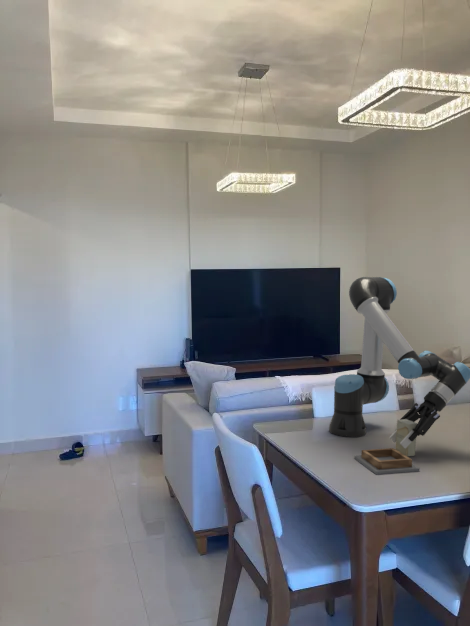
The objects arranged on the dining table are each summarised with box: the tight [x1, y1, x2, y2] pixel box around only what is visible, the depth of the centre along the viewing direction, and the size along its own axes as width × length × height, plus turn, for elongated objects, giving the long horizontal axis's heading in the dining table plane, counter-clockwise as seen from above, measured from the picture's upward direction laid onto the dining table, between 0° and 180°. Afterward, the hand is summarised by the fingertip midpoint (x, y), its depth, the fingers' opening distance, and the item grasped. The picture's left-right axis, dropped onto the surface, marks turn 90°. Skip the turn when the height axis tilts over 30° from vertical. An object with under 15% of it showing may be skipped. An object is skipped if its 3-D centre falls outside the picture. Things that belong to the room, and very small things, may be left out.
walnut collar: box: [360, 447, 413, 469], centre depth 188 cm, size 12×12×2 cm
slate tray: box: [353, 454, 420, 475], centre depth 188 cm, size 16×16×1 cm
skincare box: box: [395, 418, 418, 457], centre depth 199 cm, size 6×4×12 cm
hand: (397, 442), depth 198 cm, fingers closed on skincare box, 7 cm apart
